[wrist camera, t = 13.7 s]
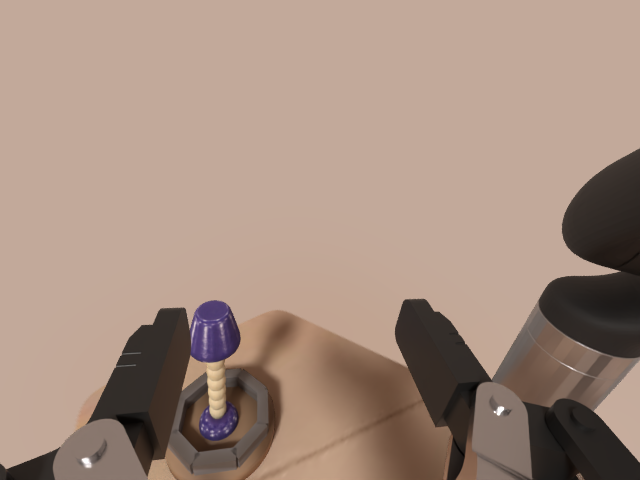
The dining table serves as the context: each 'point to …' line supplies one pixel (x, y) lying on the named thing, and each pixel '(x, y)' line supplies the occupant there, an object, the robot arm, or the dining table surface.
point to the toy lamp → (215, 365)
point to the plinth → (232, 452)
